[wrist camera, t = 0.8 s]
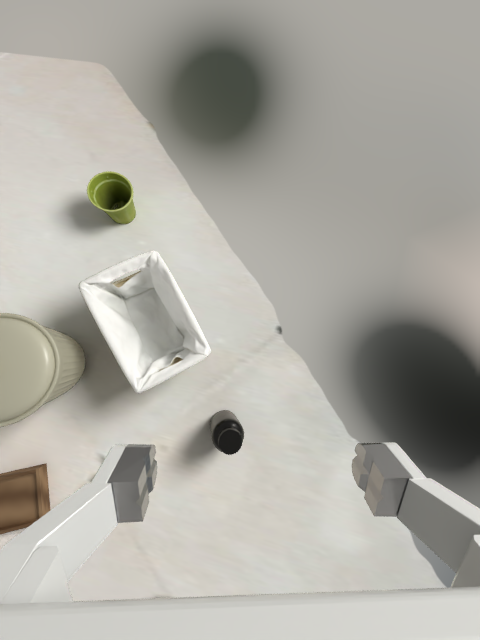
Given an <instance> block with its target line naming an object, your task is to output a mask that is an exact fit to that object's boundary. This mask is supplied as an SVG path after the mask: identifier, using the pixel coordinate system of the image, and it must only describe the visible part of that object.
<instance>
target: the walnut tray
mask: <svg viewBox="0 0 480 640" xmlns="http://www.w3.org/2000/svg"><path fill="white" fill-rule="evenodd" d="M49 511H50V501H49V489H48V477H47V465H46V464H42V465H37V466H33V467H29V468H24V469H20V470H15V471H11V472H7V473H2V474H0V534H3V533H7V532H11V531H14V530H18V529H22V528H26V527H29V526H30V525H32V524H33V523H34V522H36V521H37V520H38V519H40V518H41V517H42V516H44V515H45V514H46V513H48V512H49Z"/></svg>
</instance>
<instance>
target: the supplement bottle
mask: <svg viewBox="0 0 480 640" xmlns="http://www.w3.org/2000/svg"><path fill="white" fill-rule="evenodd" d="M210 430H211V436H212V441H213V444H214V446H215V447H216V448H217V449H218V450H219V451H221V452H224V453H225V454H228V455H231V454H234V453H236V452H238V450H239V449H240V448H241V446H242V442H243V439H244V431H243V428H242V426H241V424H240V422H239V421H238V419H237V417H236V416H235V415H234V414H233V413H232V412H230V411H227V410H223V411H219V412H217V413H216V414H215V415H214V416H213V418H212V420H211V423H210Z"/></svg>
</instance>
